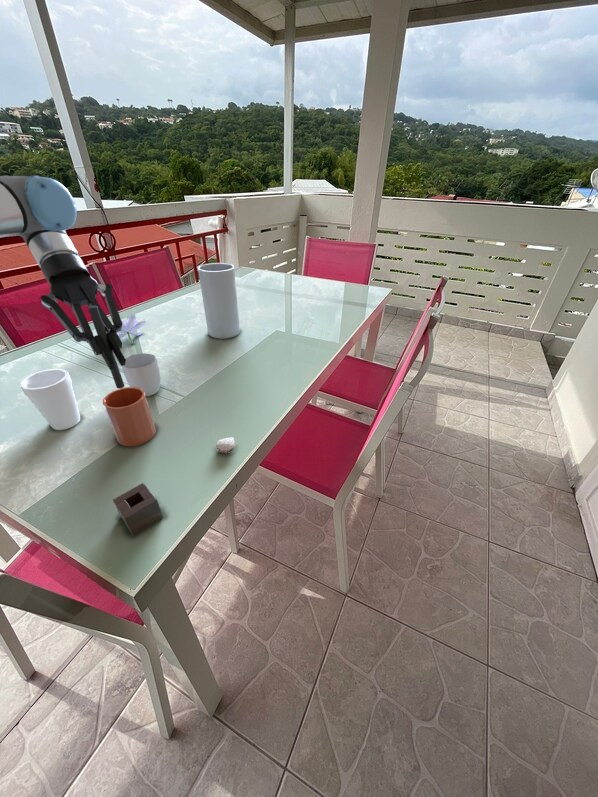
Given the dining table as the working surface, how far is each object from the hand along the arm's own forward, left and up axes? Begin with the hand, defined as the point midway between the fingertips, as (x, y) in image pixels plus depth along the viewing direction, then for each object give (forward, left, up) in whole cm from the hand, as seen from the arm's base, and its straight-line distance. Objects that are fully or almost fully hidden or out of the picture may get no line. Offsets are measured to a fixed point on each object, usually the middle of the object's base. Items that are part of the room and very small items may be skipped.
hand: (117, 364), depth 66 cm
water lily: (-46, +43, -21) cm, 66 cm away
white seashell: (+19, +5, -21) cm, 29 cm away
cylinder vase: (-17, +62, -21) cm, 68 cm away
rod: (-4, +2, -7) cm, 8 cm away
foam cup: (-24, -2, -21) cm, 32 cm away
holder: (+14, -17, -21) cm, 30 cm away
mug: (-16, +19, -21) cm, 33 cm away
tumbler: (-4, +1, -21) cm, 21 cm away
